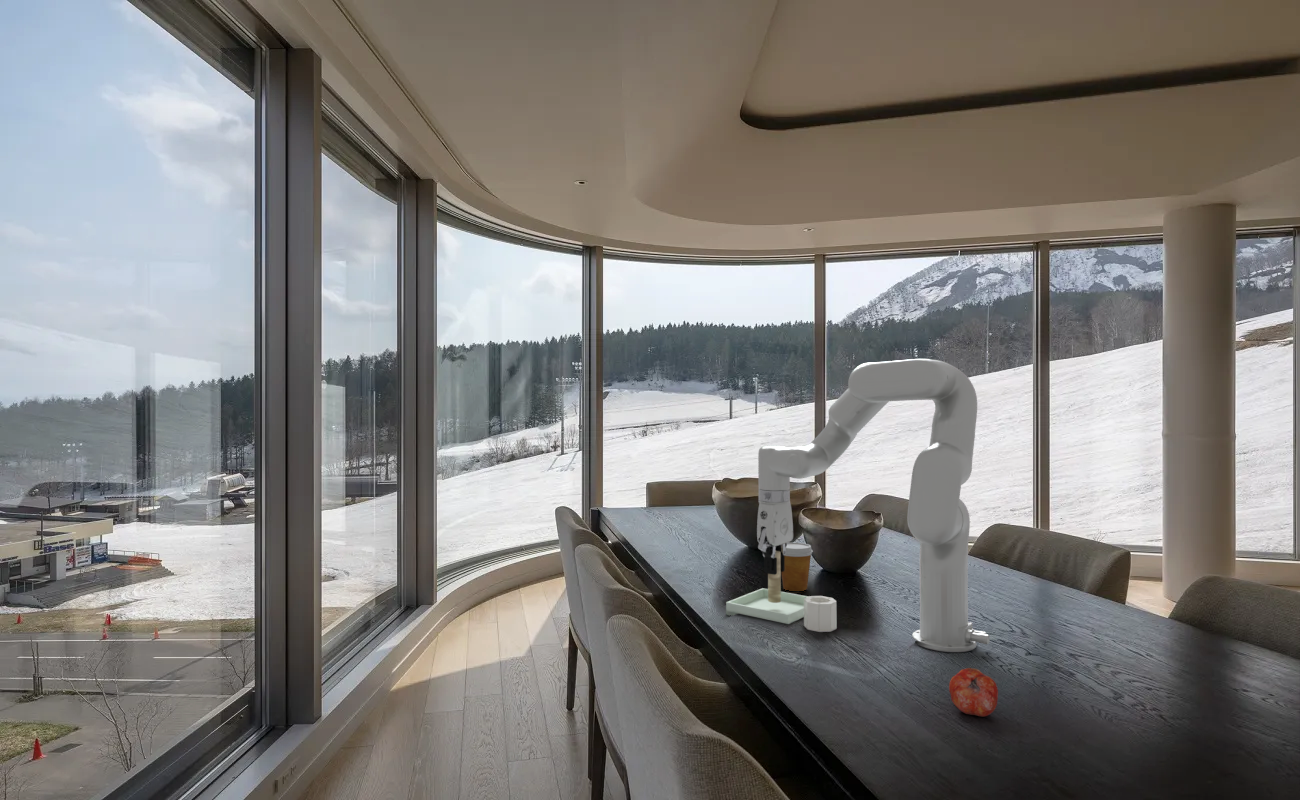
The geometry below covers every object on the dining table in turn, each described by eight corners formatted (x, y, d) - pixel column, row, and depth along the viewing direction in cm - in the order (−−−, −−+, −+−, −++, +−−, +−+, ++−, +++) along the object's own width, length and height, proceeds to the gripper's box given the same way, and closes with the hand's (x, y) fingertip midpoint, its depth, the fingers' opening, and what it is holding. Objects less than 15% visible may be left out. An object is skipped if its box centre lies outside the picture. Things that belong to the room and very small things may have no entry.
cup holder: (840, 630, 163) (840, 599, 163) (827, 638, 158) (827, 605, 158) (813, 624, 167) (813, 594, 167) (799, 632, 162) (799, 600, 162)
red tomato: (948, 715, 124) (939, 695, 117) (959, 674, 127) (950, 653, 120) (995, 732, 119) (988, 712, 113) (1005, 689, 123) (999, 667, 116)
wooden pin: (782, 600, 177) (782, 551, 177) (776, 603, 175) (776, 553, 175) (772, 598, 179) (771, 549, 179) (765, 601, 177) (765, 551, 177)
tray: (823, 611, 178) (823, 599, 178) (788, 628, 165) (788, 615, 165) (762, 599, 189) (762, 588, 189) (726, 614, 176) (726, 602, 176)
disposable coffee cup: (810, 585, 203) (810, 542, 203) (815, 594, 194) (814, 549, 194) (776, 584, 204) (775, 542, 204) (778, 593, 195) (778, 548, 195)
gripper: (770, 501, 168) (770, 581, 168) (804, 494, 181) (804, 568, 181) (742, 498, 173) (743, 576, 173) (777, 492, 185) (777, 564, 185)
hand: (774, 571), depth 177 cm, fingers closed on wooden pin, 3 cm apart
